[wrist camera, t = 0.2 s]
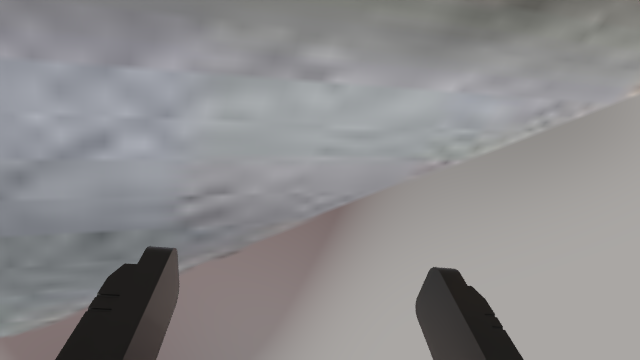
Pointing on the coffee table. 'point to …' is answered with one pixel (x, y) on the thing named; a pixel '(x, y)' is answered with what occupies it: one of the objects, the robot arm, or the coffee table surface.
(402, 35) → the coffee table surface
